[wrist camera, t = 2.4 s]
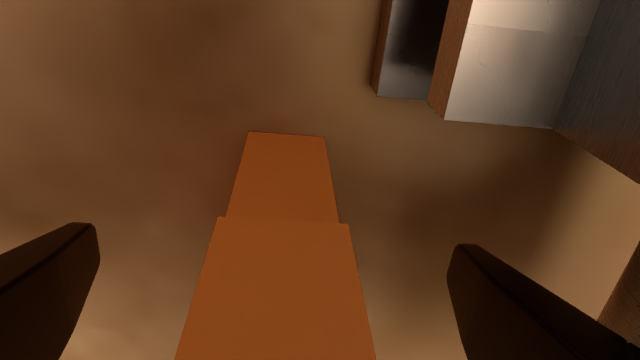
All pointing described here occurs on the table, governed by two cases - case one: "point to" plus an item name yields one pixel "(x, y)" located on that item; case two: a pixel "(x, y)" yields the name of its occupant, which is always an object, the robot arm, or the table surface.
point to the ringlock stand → (528, 82)
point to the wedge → (279, 265)
